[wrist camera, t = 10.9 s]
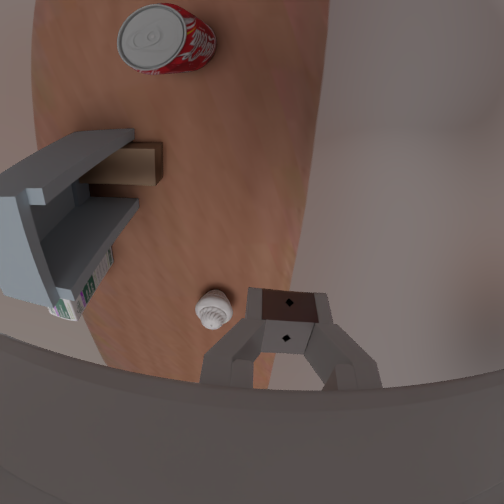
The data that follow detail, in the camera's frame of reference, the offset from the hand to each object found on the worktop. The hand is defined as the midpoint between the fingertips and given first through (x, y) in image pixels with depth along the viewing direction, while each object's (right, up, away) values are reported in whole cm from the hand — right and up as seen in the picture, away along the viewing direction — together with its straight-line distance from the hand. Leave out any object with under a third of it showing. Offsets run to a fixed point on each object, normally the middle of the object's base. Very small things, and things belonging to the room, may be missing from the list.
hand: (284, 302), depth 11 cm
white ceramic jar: (-7, -6, +40) cm, 41 cm away
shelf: (-22, +14, +27) cm, 38 cm away
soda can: (-9, +27, +18) cm, 33 cm away
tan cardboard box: (-19, +15, +26) cm, 36 cm away
